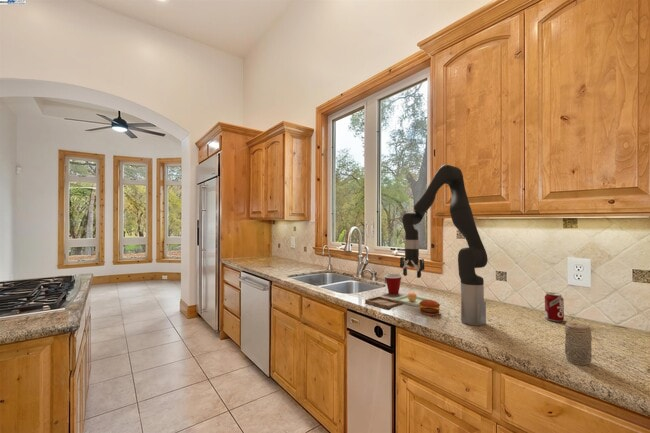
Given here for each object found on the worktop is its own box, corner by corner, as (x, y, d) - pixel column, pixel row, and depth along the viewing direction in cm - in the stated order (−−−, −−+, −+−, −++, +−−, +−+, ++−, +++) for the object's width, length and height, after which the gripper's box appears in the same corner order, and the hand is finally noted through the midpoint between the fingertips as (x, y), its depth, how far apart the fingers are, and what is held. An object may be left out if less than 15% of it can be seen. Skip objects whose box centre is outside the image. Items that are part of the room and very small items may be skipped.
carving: (561, 361, 93) (560, 323, 93) (570, 355, 97) (569, 319, 97) (586, 369, 88) (585, 329, 88) (595, 363, 92) (594, 324, 92)
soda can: (544, 320, 132) (543, 293, 132) (545, 316, 137) (545, 291, 137) (563, 323, 127) (562, 296, 128) (564, 320, 132) (563, 293, 133)
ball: (418, 301, 162) (418, 292, 162) (413, 303, 159) (413, 293, 159) (410, 299, 166) (410, 290, 166) (405, 301, 163) (405, 292, 163)
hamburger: (419, 310, 148) (419, 297, 148) (440, 312, 145) (439, 298, 145) (418, 315, 139) (418, 301, 140) (440, 318, 136) (440, 303, 136)
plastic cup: (380, 293, 183) (380, 274, 183) (394, 291, 188) (394, 273, 188) (391, 297, 173) (391, 277, 174) (405, 295, 178) (405, 275, 178)
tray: (402, 305, 156) (402, 301, 156) (388, 309, 149) (388, 306, 149) (379, 299, 169) (379, 296, 169) (365, 303, 161) (365, 299, 161)
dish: (431, 302, 161) (431, 299, 161) (416, 307, 152) (416, 304, 152) (408, 297, 173) (408, 294, 173) (392, 301, 163) (392, 298, 163)
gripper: (426, 248, 160) (427, 277, 160) (404, 246, 171) (404, 274, 171) (419, 249, 155) (419, 279, 155) (397, 247, 166) (397, 275, 166)
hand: (411, 276), depth 163 cm, fingers open, 8 cm apart
